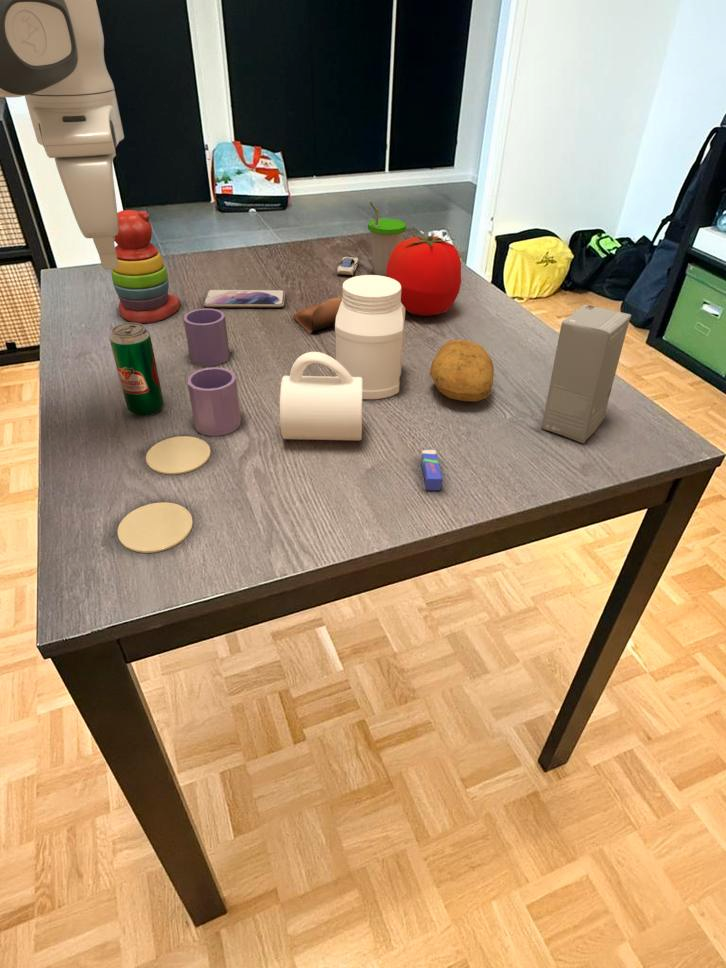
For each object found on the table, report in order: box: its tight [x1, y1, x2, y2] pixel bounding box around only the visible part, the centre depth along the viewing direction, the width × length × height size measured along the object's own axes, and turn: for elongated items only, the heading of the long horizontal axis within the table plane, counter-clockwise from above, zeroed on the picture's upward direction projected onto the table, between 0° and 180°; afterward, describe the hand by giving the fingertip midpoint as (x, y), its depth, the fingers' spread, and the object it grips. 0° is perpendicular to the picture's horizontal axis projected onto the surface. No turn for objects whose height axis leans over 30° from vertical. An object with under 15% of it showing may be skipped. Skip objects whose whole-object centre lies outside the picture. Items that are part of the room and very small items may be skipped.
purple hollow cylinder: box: [183, 307, 230, 367], centre depth 99 cm, size 6×6×7 cm
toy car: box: [336, 256, 360, 277], centre depth 134 cm, size 4×12×3 cm, turn 171°
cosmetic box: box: [541, 304, 632, 444], centre depth 83 cm, size 8×7×16 cm
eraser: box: [420, 449, 443, 491], centre depth 77 cm, size 2×6×2 cm, turn 1°
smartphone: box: [203, 289, 286, 309], centre depth 119 cm, size 7×1×15 cm
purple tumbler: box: [186, 366, 242, 437], centre depth 83 cm, size 6×6×7 cm
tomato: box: [386, 235, 462, 317], centre depth 114 cm, size 16×14×14 cm
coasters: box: [117, 435, 212, 554], centre depth 74 cm, size 12×21×1 cm, turn 20°
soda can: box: [109, 322, 165, 417], centre depth 85 cm, size 5×5×12 cm
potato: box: [429, 339, 495, 402], centre depth 92 cm, size 9×13×7 cm
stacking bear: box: [111, 209, 181, 324], centre depth 108 cm, size 11×10×18 cm
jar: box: [334, 274, 406, 400], centre depth 91 cm, size 12×10×15 cm
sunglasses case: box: [293, 295, 343, 334], centre depth 113 cm, size 18×7×7 cm, turn 124°
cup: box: [367, 201, 407, 277], centre depth 127 cm, size 8×8×15 cm
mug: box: [279, 351, 363, 441], centre depth 80 cm, size 8×10×12 cm
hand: (109, 253), depth 75 cm, fingers open, 8 cm apart
